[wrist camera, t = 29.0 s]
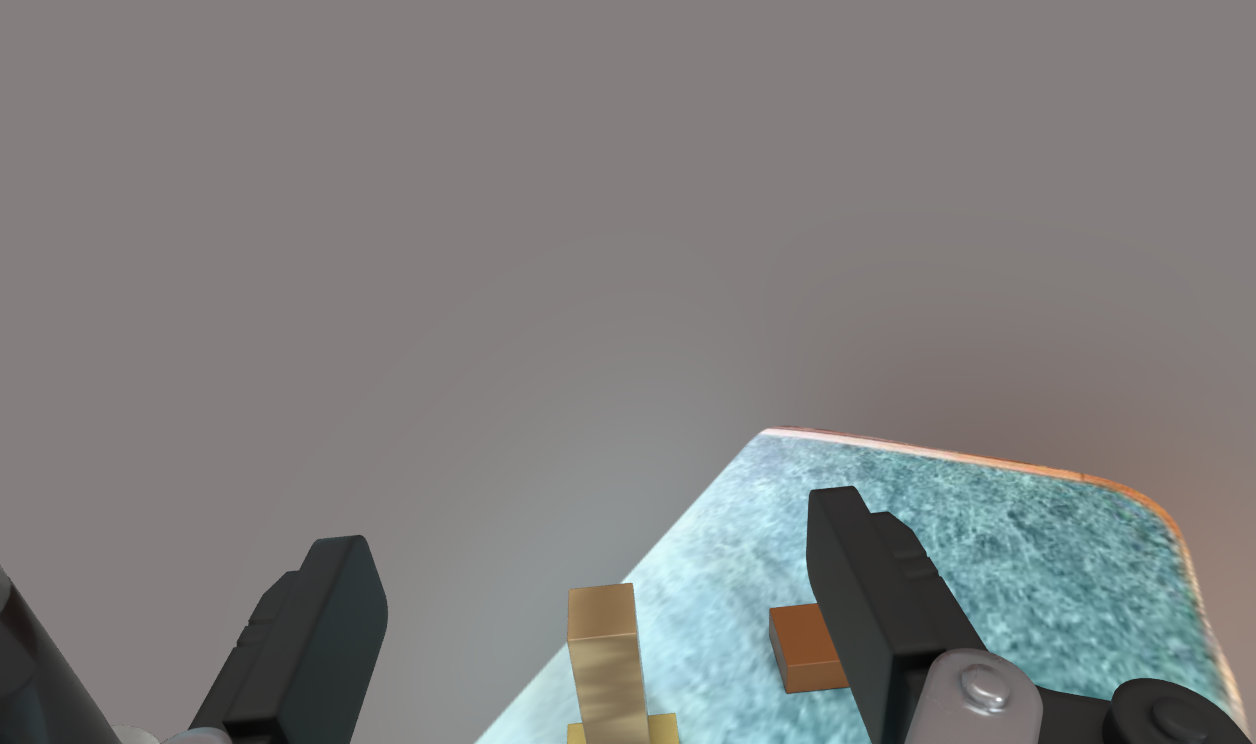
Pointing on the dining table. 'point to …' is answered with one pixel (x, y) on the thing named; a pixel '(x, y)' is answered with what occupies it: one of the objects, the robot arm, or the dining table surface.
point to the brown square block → (804, 649)
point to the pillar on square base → (611, 671)
